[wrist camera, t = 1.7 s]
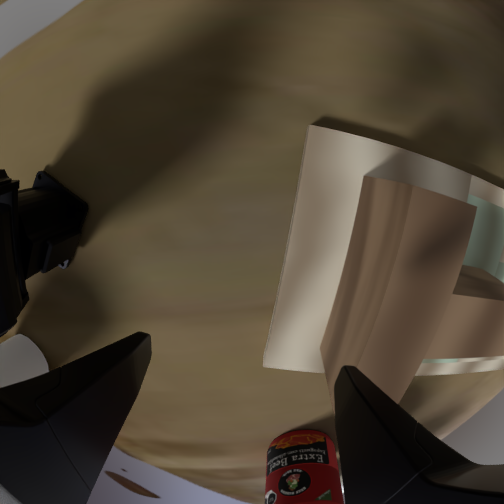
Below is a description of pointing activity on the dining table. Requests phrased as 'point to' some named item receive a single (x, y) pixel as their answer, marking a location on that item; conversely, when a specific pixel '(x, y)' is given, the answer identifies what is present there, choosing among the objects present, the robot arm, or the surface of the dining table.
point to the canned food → (302, 470)
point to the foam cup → (20, 360)
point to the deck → (339, 233)
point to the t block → (410, 289)
